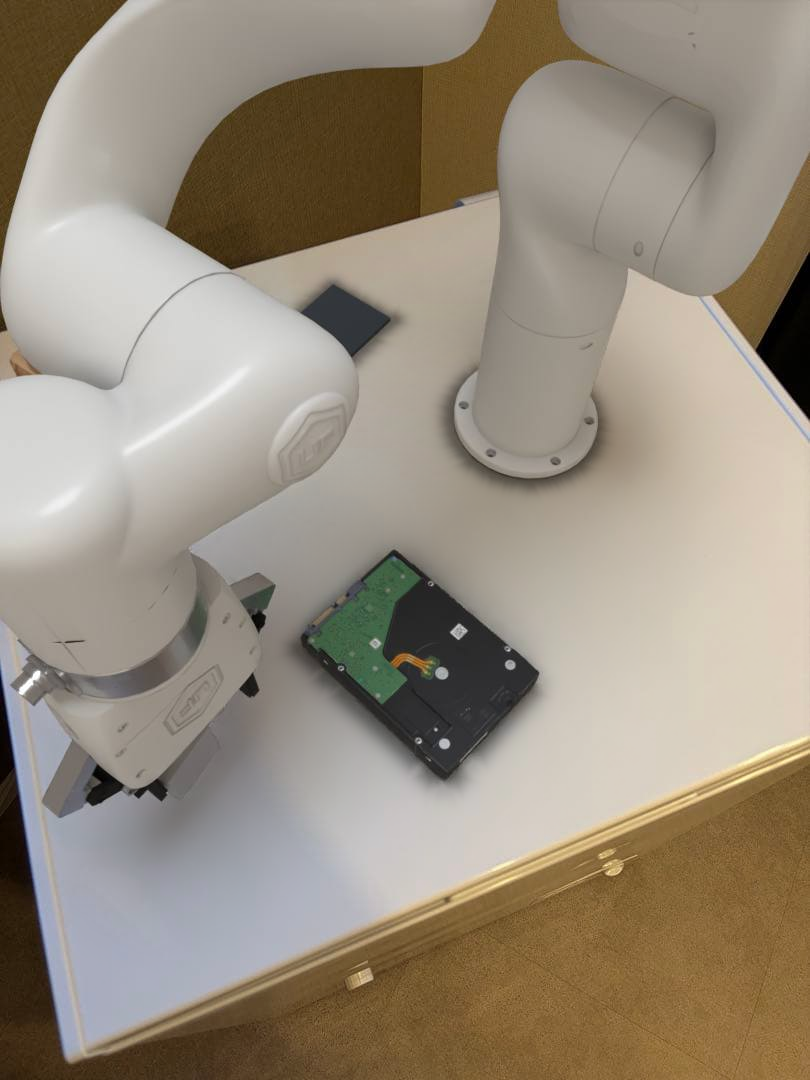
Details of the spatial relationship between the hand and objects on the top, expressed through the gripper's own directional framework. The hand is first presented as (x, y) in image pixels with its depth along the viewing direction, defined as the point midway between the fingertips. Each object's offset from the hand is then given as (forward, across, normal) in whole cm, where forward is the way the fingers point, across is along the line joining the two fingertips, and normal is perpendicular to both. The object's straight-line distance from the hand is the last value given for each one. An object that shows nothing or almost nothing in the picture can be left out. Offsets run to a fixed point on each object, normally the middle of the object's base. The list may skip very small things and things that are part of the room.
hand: (193, 729), depth 54 cm
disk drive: (+10, +15, -6) cm, 19 cm away
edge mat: (+10, +37, +20) cm, 43 cm away
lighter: (+4, 0, 0) cm, 4 cm away
